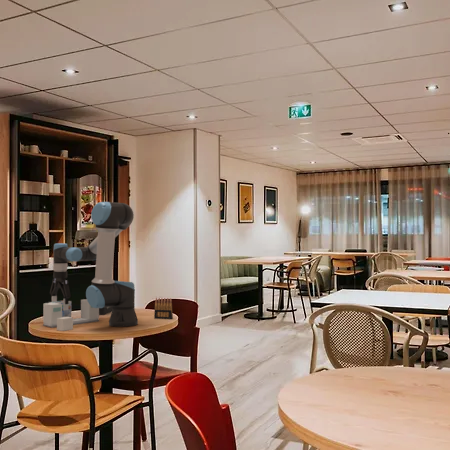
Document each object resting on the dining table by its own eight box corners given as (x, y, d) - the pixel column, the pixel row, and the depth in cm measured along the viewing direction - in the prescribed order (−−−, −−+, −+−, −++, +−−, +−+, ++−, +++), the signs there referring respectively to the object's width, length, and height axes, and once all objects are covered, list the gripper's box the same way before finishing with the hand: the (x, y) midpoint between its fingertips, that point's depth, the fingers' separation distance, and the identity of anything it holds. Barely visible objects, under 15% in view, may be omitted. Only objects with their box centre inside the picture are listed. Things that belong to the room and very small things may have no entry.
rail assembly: (99, 321, 285) (99, 300, 285) (51, 327, 265) (51, 305, 265) (90, 319, 292) (90, 298, 292) (42, 325, 272) (43, 303, 272)
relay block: (72, 329, 260) (73, 317, 260) (63, 331, 255) (63, 319, 256) (66, 328, 263) (66, 316, 263) (56, 330, 258) (56, 318, 258)
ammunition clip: (154, 318, 293) (154, 297, 293) (155, 318, 295) (155, 297, 295) (171, 319, 290) (171, 298, 290) (172, 318, 292) (172, 297, 292)
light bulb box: (55, 322, 281) (55, 302, 281) (48, 321, 285) (48, 301, 286) (72, 320, 290) (72, 300, 290) (64, 318, 294) (64, 300, 294)
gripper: (77, 271, 282) (77, 310, 282) (56, 269, 300) (55, 305, 299) (65, 272, 277) (64, 312, 276) (43, 269, 294) (43, 306, 294)
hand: (59, 308), depth 288 cm, fingers open, 13 cm apart
